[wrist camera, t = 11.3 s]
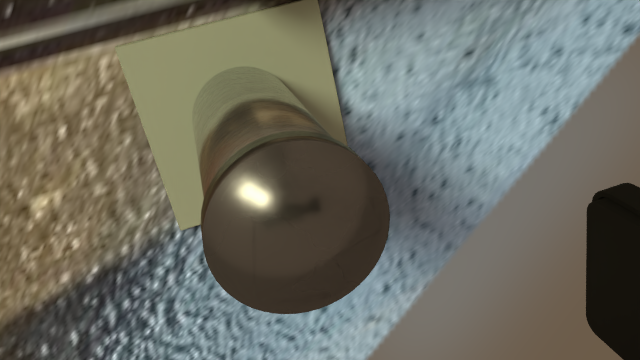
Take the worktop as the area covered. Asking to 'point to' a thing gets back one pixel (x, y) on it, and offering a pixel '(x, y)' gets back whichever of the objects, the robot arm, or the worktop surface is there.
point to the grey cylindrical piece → (281, 197)
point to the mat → (212, 58)
